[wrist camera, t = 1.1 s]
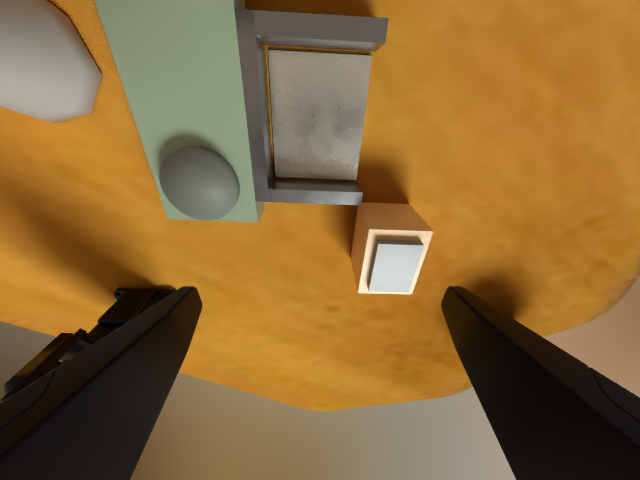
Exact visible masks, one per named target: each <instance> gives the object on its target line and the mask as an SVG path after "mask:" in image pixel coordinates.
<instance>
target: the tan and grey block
mask: <svg viewBox="0 0 640 480" xmlns="http://www.w3.org/2000/svg"><path fill="white" fill-rule="evenodd" d="M432 234H433V230H432V229H431V228H430V227H429V226H428V225H427V223H426V222H425V221H424V220H423V219H422V218H421V217H420V216H419V214H418V213H417V212H416V211H415V210H414V209H413V208H412V206H411V205H410V204H396V203H370V202H362V204H361V205H358V208H357V216H356V223H355V230H354V237H353V245H352V252H351V262H352V267H353V272H354V277H355V281H356V286H357V291H358V293H376V294H412V292H413V289H414V287H415V284H416V281H417V278H418V275H419V272H420V269H421V266H422V263H423V260H424V257H425V255H426V252H427V249H428V246H429V243H430V240H431V237H432Z"/></svg>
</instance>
